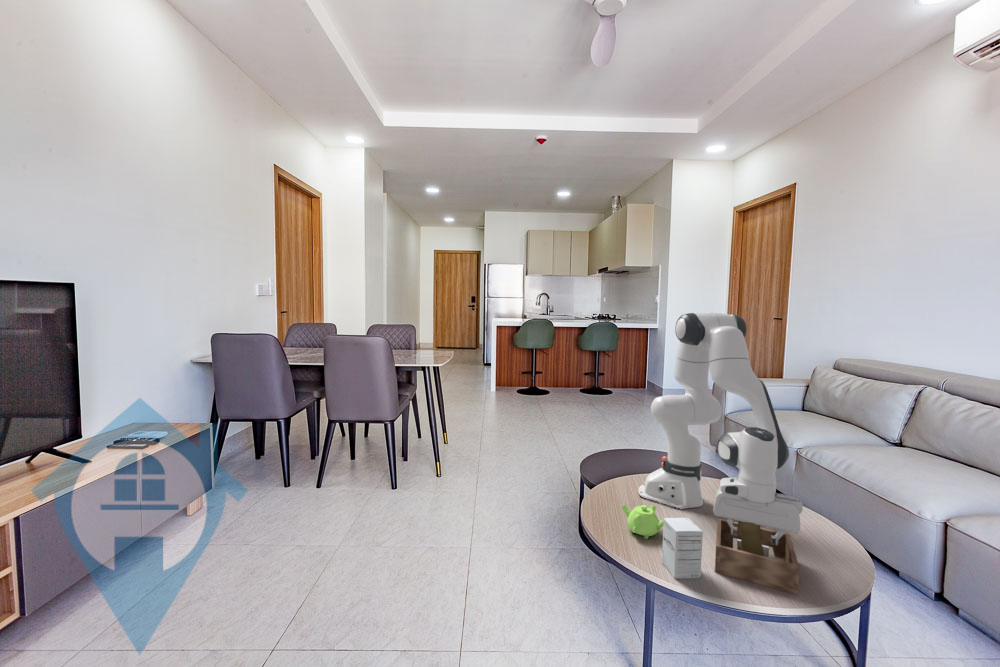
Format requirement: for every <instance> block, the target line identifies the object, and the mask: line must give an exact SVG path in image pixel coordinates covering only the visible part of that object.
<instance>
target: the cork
mask: <svg viewBox="0 0 1000 667" xmlns="http://www.w3.org/2000/svg"><path fill="white" fill-rule="evenodd" d="M737 522H738V526H739V529H740V530H741V551H745V552H749V553H753V554H757V555H761V556H765V554H764V551H763V547H762V543H761V540H760V536H759V531H760V528H761V526H759V525H756V524H754V523H750V522H742V521H737Z"/></svg>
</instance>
